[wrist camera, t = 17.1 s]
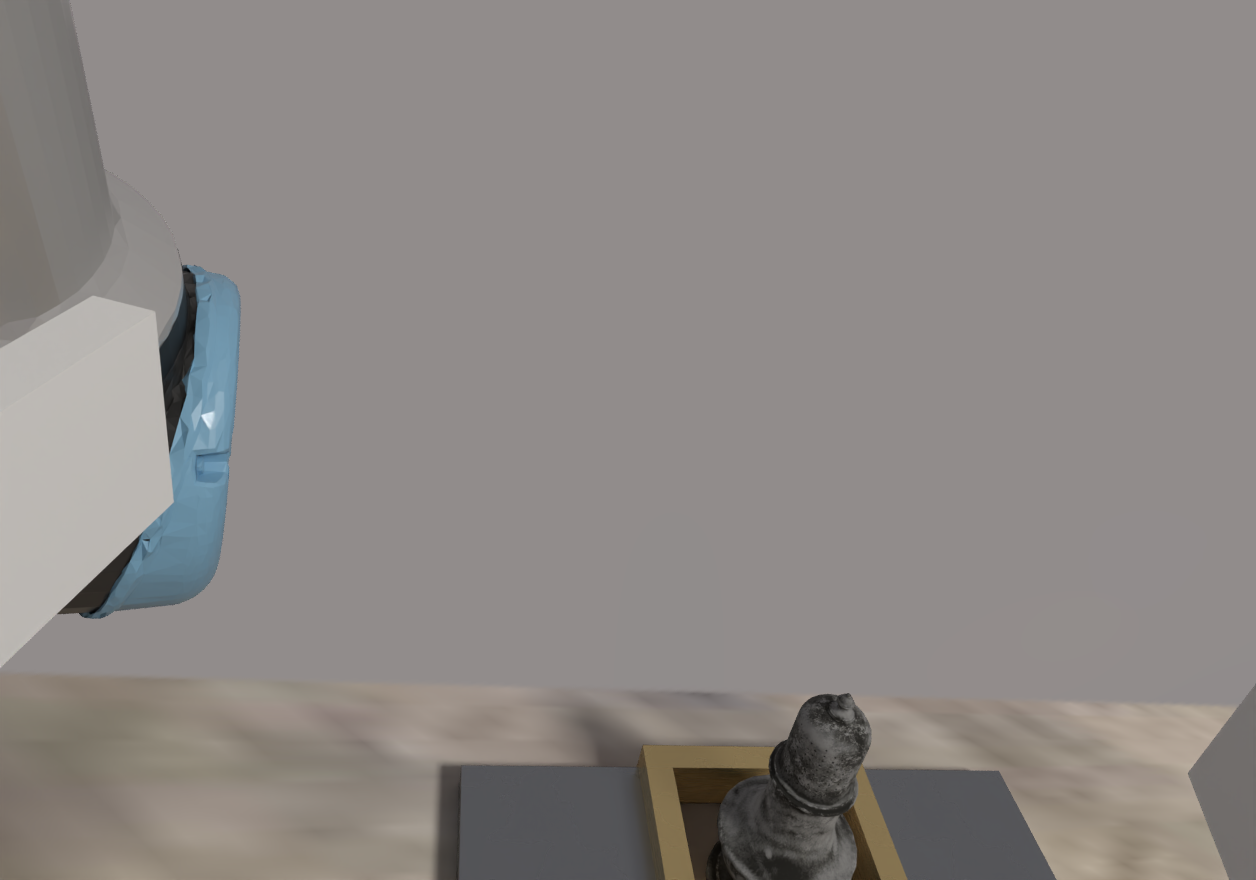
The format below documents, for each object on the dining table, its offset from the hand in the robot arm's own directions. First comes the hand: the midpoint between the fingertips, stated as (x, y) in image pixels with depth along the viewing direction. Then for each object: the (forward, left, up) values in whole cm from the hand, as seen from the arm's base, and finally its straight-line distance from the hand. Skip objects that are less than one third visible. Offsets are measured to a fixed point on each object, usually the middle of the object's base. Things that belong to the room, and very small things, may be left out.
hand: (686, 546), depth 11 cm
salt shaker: (+3, +19, -30) cm, 36 cm away
